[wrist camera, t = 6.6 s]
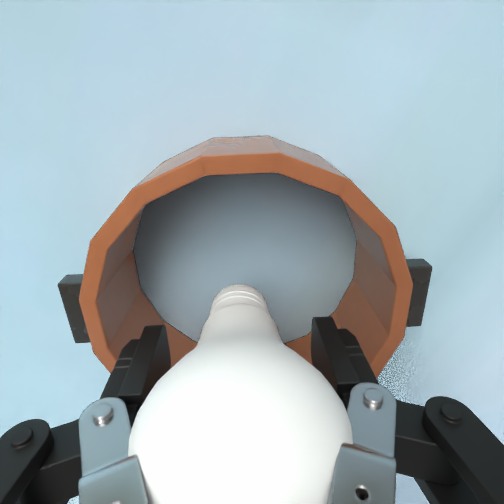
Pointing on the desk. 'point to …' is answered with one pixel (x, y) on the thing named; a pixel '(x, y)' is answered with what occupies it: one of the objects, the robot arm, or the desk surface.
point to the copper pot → (246, 162)
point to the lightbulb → (240, 417)
